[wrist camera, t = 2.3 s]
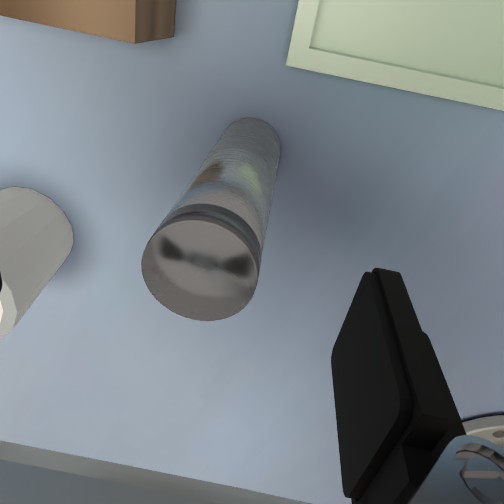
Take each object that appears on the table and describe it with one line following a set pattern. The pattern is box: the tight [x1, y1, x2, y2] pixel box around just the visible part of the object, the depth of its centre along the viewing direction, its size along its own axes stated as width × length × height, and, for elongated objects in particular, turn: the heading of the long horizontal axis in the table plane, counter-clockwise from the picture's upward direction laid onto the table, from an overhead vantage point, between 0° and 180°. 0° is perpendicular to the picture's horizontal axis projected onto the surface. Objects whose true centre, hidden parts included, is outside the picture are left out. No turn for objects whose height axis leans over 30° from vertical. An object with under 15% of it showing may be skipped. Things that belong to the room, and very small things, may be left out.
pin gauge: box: [141, 118, 281, 321], centre depth 16 cm, size 3×3×12 cm
